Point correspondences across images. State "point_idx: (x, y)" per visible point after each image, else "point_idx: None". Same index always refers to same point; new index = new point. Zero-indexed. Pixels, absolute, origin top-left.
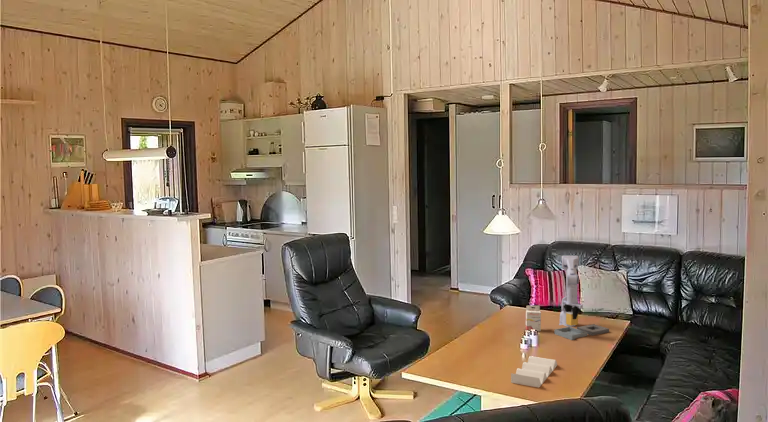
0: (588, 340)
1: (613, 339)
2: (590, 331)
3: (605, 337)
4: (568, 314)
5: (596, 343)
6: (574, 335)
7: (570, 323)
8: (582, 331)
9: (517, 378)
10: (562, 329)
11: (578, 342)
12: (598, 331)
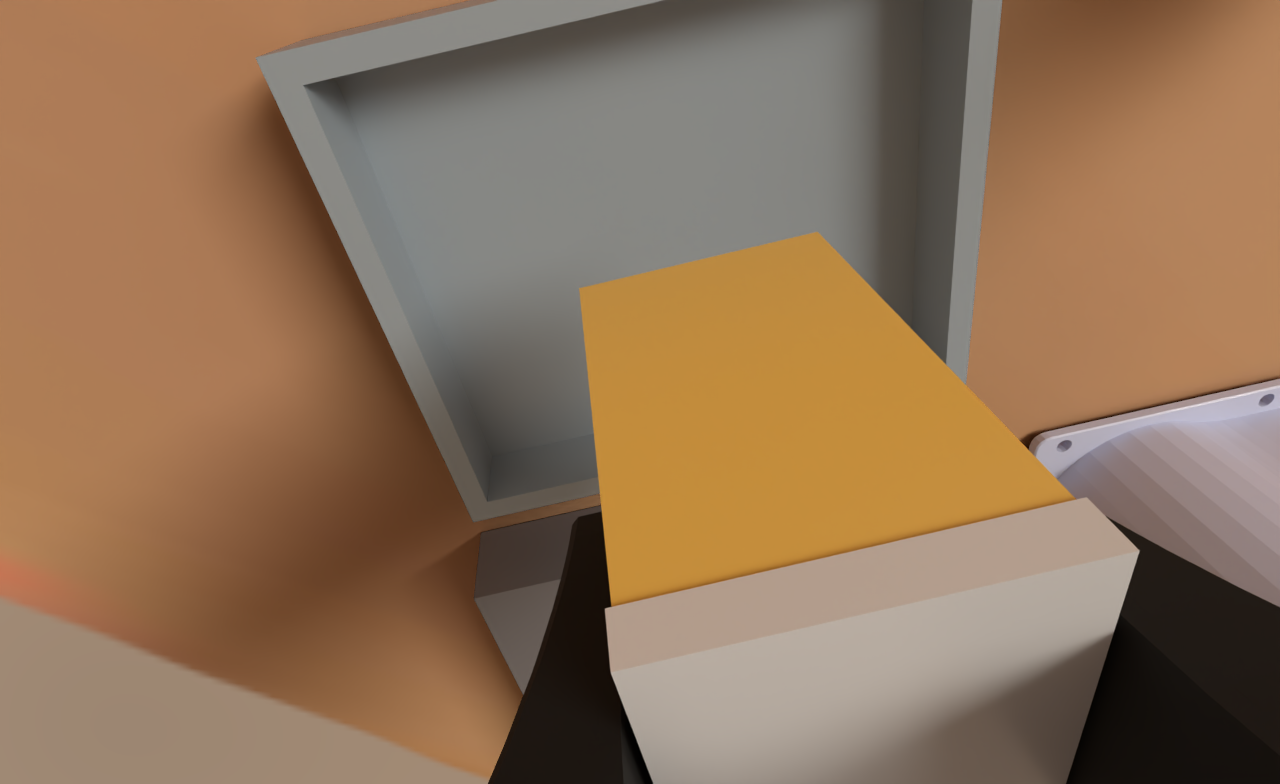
0: (259, 383)
1: (297, 701)
2: (521, 589)
3: (413, 660)
4: (849, 515)
5: (32, 421)
6: (306, 154)
7: (614, 309)
8: (575, 478)
9: None
10: (944, 187)
11: (79, 90)
12: (520, 682)
